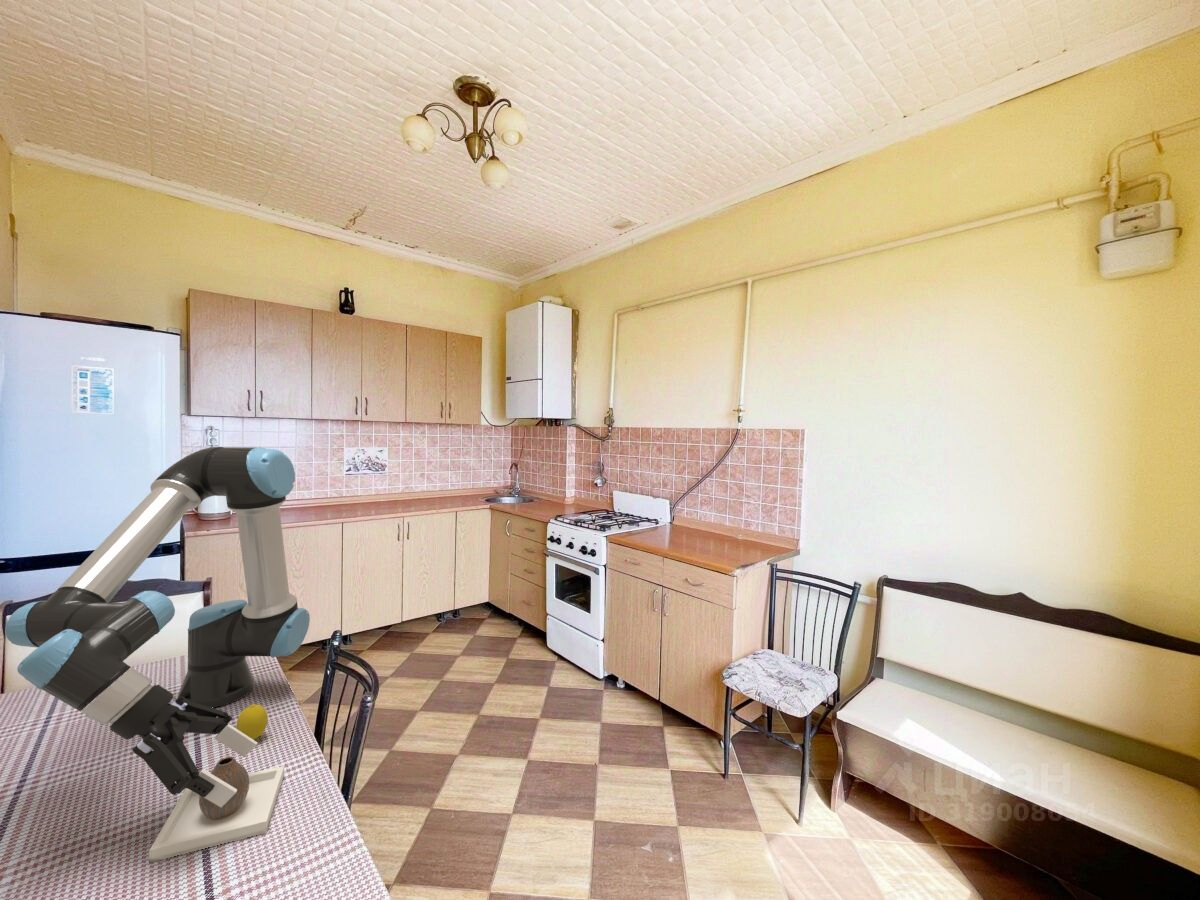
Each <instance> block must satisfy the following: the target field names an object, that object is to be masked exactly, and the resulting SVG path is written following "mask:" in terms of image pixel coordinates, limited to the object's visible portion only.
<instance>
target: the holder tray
mask: <svg viewBox="0 0 1200 900" xmlns="http://www.w3.org/2000/svg"><path fill="white" fill-rule="evenodd" d="M248 775H249V790H248V794H247V796H246V798H245V800H244V802H243V803H242V805H241V806H240V807H239V808H238V809H237V810H236V811H235V812H234V813H233V814H231V815H229V816H227V817H225V818H222V819H216V820H215V819H210V818H207V817H206V816H204V815H203V813H202V812H201V809H200V806H199V794H197V793H195V792H193V791H191V790H190V789H188V788H185V789H184V790H183V791H182V792H183V793H182V794H181V795H180V797H179V799H178V800H177V803H176V804H175V806H174V808H173V809H172V811H171V813H170V814H169V816H168V818H167V819H166V821H165V823H164V824H163V826H162V828H161V829H160V831H159V833H158V835H157V836H156V838H155V840H154V842H153V844H151V847H150V848H149V850H148V851H149V852H148V853H149V854H148V856H149V857H148V858H149V859H148V864H152V863H156V862H160V861H162V860H163V859H164V860H167V859H166V858H168V859H171V858H170V857H172V858H174V857H173V856H176V857H178V856H177V855H179V854H183V855H185V854H184V853H187V854H190V853H189V852H191V853H193V852H192V851H195V852H197V851H196V850H199V851H201V849H203V850H206V849H205V848H207V849H209V848H208V847H211V848H214V847H213V846H215V847H218V846H221V845H220V844H222V845H225V844H224V843H226V844H229V843H228V842H230V843H233V842H232V841H234V842H237V840H238V841H241V839H242V840H245V839H244V838H246V839H248V838H247V837H250V838H252V837H251V836H253V837H257V836H260V834H261V835H265V834H267V831H268V828H269V825H270V822H271V818H272V816H273V813H274V809H275V807H276V803H277V799H278V796H279V793H280V790H281V787H282V784H283V780H284V777H285V765H282V766H278V767H272V768H268V769H263V770H259V771H254V772H249V773H248ZM256 835H257V836H256ZM217 845H218V846H217ZM179 856H180V855H179Z"/></svg>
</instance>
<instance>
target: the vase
mask: <svg viewBox="0 0 1200 900" xmlns="http://www.w3.org/2000/svg"><path fill="white" fill-rule="evenodd" d="M210 773H211V774H212V775H214V776H216V777H217V778H219V779H221V780H222V781H224V782H226V783H227V784H229V785H231V786H232V787H234V788H236V789H237V792H236V793H235V794H234V795H233V796H232V797H231V798H230V799H229V800H228V801H227V802H226V803H225V804H224V805H223V807H222V808H221V807H219V806H218V805H216V804H214V803H213V802H211V801H209V800H207V799H206V798H204V797H202V796H200V795H199V806H200V809H201V812H202V813H203V815H204V816H206V817H207V818H210V819H215V820H216V819H222V818H225V817H227V816H229V815H231V814H233V813H234V812H235V811H236V810H237V809H238V808H239V807H240V806H241V805H242V803H243V802H244V800H245V798H246V796H247V794H248V790H249V775H248V771H247V769H246V767H244V766H243V765H242V764H241V763H239V762H238V761H237V760H236V759H235V757H233V756H226V757H224V758H221V759H219V760H218V761H217V762H216V764H215V766H214V768H213V769H212V771H210Z"/></svg>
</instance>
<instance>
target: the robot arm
mask: <svg viewBox="0 0 1200 900" xmlns="http://www.w3.org/2000/svg"><path fill="white" fill-rule="evenodd" d="M295 472H296V471H295V468H294V465H293V463H292V460H291V459H290V458H289V456H288V455H287V454H285V453H284V452H283V451H281V450H279V449H276V448H275V449H274V448H266V447H261V446H260V447H259V446H258V447H234V446H233V447H231V446H230V447H228V446H227V447H226V446H225V447H223V446H213V447H211V446H210V447H207V448H203V449H200V450H196V451H195V452H193V453H190V454H188V455H186V456H184V457H183V458H181V459H180V460H177V461H176V462H175V463H173V464H172V465H171V466H169V467H168V468H167V469H165V471H163V472H162V473H161V474H160V475H159V476H158V477H156V478H155V480H154V481H153V482H152V483H151V484H150V487H149V488H150V491H151V492H150V493H149V494H148V495H147V496H146V497H144V499H143V500H142V501H141V502H140V503H139V504H138V505H137V506H136V507H135V508H134V509H133V510H132V511H131V512H130V513H129V514H128V515H127V517H125V519H124V520H122V522H121V523H120V524H119V525H118V526H117V527H116V528H115V529H114V530H113V531H111V533H110V534H109V535H108V536H107V537H106V538H105V539H104V540H103V541H102V542H101V543H100V544H99V545H98V546H97V547H96V549H95V550H94V551H93V552H92V553H90V555H89V556H88V557H87V558H86V559H85V560H84V561H83V562H82V563H81V564H80V565H79V566H78V567H77V568H76V569H75V570H74V571H73V573H71V575H70V576H69V577H67V579H65V581H64V582H63V583H62V584H61V585H59V587H58V588H57V590H56V591H54V592H53V593H52V594H51V595H50V596H49V597H48V598H47V599H46V600H38V601H33V602H30V603H26V604H24V605H23V606H21V607H19V608H17V609H16V610H15V611H14V612H13V613H12V614H11V615H10V616H9V617H8V620H7V622H6V624H5V629H4V633H5V637H6V638H7V640H8V641H9V642H10V643H11V645H12V644H13V645H15V646H20V647H29V648H36V649H33V651H31V653H29V654H28V655H27V656H25V657H24V659H22V661H21V662H20V663H19V664H18V666H17V668H16V669H17V673H18V674H19V675H21V676H22V677H23V678H24V679H25V680H26V681H28V682H29V683H31V684H32V685H34V686H35V687H36V689H38V690H42V691H44V692H45V693H47V694H49V695H51V696H52V697H54V698H56V699H58V700H59V701H61V702H63V703H65V704H66V705H68V706H70V707H72V708H73V709H75V710H77V711H79V712H81V713H82V714H84V715H85V716H87V718H88V719H92V720H93V721H96V722H97V723H99V724H101V726H104V725H107V724H108V723H109V724H110V725H109V731H111V732H113V733H114V734H116V735H118V736H119V737H122V738H123V740H130V739H132V738H134V737H136V736H140V738H142V739H141V740H140V741H139V742H138V743H137V744H136V745H135V746H134V747H132V753H134V754H135V755H137V756H138V757H140V758H141V759H143V761H144V762H145V763H146V764H147V766H148V767H149V768H150V770H152V772H153V773H154V775H155V776H156V777H157V778H158V780H160V782H161V783H162V784H163V786H164V787H165V788H166V789H167V790H168V792H169V793H170V794H171V795H174V796H175V795H177V794H181V793H182V792H184V791H185V789H186V788H188V789H190V790H191V791H193V792H195V793H197V794H199V795H200V796H202V797H204V798H206V799H207V800H209V801H211V802H213V803H214V804H216V805H218V806H219V807H221V808H222V807H223V805H224V804H225V803H226V802H227V801H228V800H229V799H230V798H231V797H232V796H233V795H234V794H235V793H236V792H237V789H236V788H234V787H232V786H231V785H229V784H227V783H226V782H224V781H222V780H221V779H219V778H217V777H216V776H214V775H212V774H211V772H209V771H208V770H207V769H205V768H202V769H201V771H199V770H198V768H197V766H196V764H195V761H194V760H193V758H192V757H191V755H190V753H189V751H188V749H187V747H186V746H185V743H184V741H185V734H186V733H192V734H205V735H216V736H215V737H214V739H215V740H216V741H218V742H219V743H221V744H223V745H224V746H225V747H227V748H228V749H230V750H232V751H233V752H235V753H236V754H238V755H240V756H242V757H243V758H246V756H248V754H249V753H250V752H251V751H252V750H253V749H254V748H255V747H256V746H257V745H258V742H257V741H256V740H253V739H251V738H250V737H248V736H247V735H245V734H244V733H242V732H241V731H239V730H238V729H236V727H234V726H233V725H231V724H229V723H230V722H231V721H232V720H233V717H232V716H231V715H229V712H227V711H225V710H220V709H218V707H217V706H220V707H222V706H221V705H223V706H225V705H224V704H226V705H228V704H227V703H229V704H231V703H230V702H232V703H234V702H236V701H235V700H237V699H239V698H241V697H243V696H244V695H246V694H247V693H248V692H250V691H251V692H252V690H253V689H254V676H253V675H252V672H251V669H250V667H249V664H248V662H247V658H246V657H271V658H277V657H287V656H290V655H292V654H294V653H295V652H296V651H297V650H298V649H299V648H300V647H301V646H302V644H303V642H304V640H305V638H306V636H307V634H308V631H309V628H310V622H311V621H310V619H311V617H310V613H309V611H308V610H307V609H306V608H304V607H298V599H297V597H296V595H294V594H291V593H290V591H289V589H290V588H289V582H288V572H287V562H286V561H287V560H286V554H285V545H284V537H283V536H284V535H283V527H282V520H281V519H282V518H281V509H280V507H281V506H282V505H283V504H284V503H285V502H286V500H287V496H288V495H290V493H291V492H292V491H293V489H294V483H295V482H296V473H295ZM215 496H217V497H225V500H226V506H227V509H228V510H230V511H232V512H235V514H236V519H237V528H238V535H239V543H240V550H241V551H240V553H241V559H242V563H243V564H242V565H243V575H244V581H245V588H246V589H245V590H246V595H247V600H245V599H233V600H227V601H223V602H217V603H213V604H209V605H206V606H204V607H201V608H199V609H197V610H195V611H193V613H192V614H191V615H190V617H189V619H188V620H189V621H188V628H187V670H186V674H185V676H184V679H183V682H182V683H181V687H180V688H179V692H178V693H177V698H176V699H175V700H174V699H173V698H174V694H173V693H172V692H171V691H168V690H167V689H166V688H165V687H163V686H162V685H159V684H157V685H156V684H154V685H151V684H152V682H153V680H152V679H150V678H149V677H147V676H146V675H145V674H142V673H141V672H139V671H138V670H136V669H135V668H133V667H131V666H130V665H129V664H127V663H126V662H125V660H127V658H129V657H130V656H131V655H132V654H133V653H135V652H136V651H137V650H138V649H140V648H141V647H142V646H144V644H146V643H147V642H148V641H149V640H150V639H152V638H154V636H155V635H157V634H159V633H160V632H161V630H162V629H164V628H165V626H166V625H167V624H169V623H170V622H171V621H172V620H173V618H174V616H175V614H176V610H175V606H174V603H173V601H172V600H171V599H170V598H169V597H168V596H167V595H166V594H164V593H161V592H159V591H156V590H144V591H141V592H139V593H137V594H136V595H134V596H131V597H129V598H128V600H127V601H124V602H110V601H112V599H113V598H114V597H115V596H116V594H117V593H118V592H119V591H120V590H121V589H122V588H123V586H124V585H126V584H127V583H126V582H128V580H129V579H130V578H131V577H132V576H133V575H134V573H135V572H136V571H137V570H138V569H140V568H139V567H140V566H141V565H143V563H144V562H145V561H146V560H147V558H148V557H149V556H150V555H151V554H152V553H153V552H154V550H155V549H156V548H157V546H158V545H159V544H160V543H161V542H162V541H163V540H164V539H165V538H166V536H168V534H169V533H170V532H171V530H172V529H173V528H174V527H175V526H176V525H177V524H178V522H179V521H180V520H181V519H182V517H184V515H185V514H186V513H187V512H188V511H189V510H193V509H196V508H198V507H199V505H200V504H201V503H202V502H203V501H204V500H206V499H208V498H210V497H215ZM252 688H253V689H252ZM251 692H250V693H251ZM248 694H249V693H248ZM248 694H247V695H248ZM247 695H246V696H247ZM244 697H245V696H244ZM244 697H243V698H244ZM241 699H242V698H241ZM172 700H174V701H173V702H172ZM239 700H240V699H239ZM233 701H234V702H233ZM237 701H238V700H237ZM171 702H172V703H171ZM212 707H216V708H212Z"/></svg>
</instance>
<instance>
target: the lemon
mask: <svg viewBox="0 0 1200 900" xmlns="http://www.w3.org/2000/svg"><path fill="white" fill-rule="evenodd" d="M268 720H269V717H268V713H267V710H266V708H265V707H264V706H262V705H261V704H255V703H253V704H250V705H249V706H247V707H245V708H244V709H243V710H242V711H241V713H240V714H239V715H238V718H237V720H236V727H235V728H236V729H238V730H239V731H241V732H242V733H244V734H245V735H247V736H248V737H250V738H251V739H253V740H254V741H256V739H257V738H258V737H260V736H261V735H262V734H263V733H264V732H265V731H266V728H267V726H268Z"/></svg>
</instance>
